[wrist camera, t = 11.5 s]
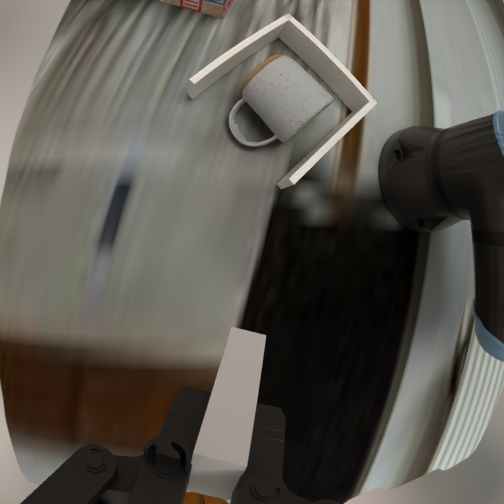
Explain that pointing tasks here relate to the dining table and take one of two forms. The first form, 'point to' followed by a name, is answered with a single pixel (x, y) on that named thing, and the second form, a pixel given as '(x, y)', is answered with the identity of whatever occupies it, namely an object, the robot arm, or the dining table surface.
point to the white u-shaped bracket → (316, 60)
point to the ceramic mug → (280, 98)
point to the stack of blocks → (203, 6)
